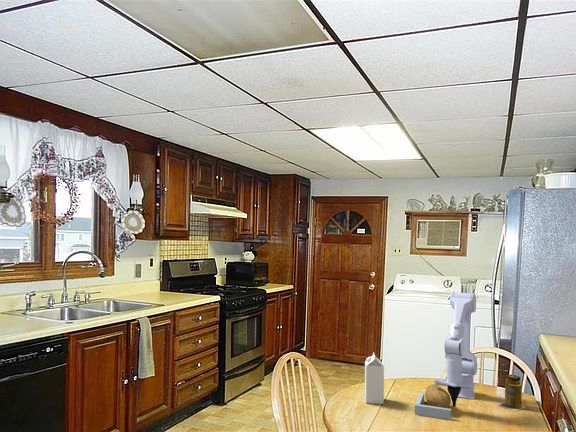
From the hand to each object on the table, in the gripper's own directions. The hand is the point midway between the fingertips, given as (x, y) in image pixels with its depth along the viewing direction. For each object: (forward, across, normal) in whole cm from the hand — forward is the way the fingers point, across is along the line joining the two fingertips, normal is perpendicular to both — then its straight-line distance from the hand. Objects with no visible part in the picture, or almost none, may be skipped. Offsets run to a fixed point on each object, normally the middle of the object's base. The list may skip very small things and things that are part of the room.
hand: (454, 405), depth 181 cm
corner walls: (+2, -7, -3) cm, 8 cm away
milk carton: (+2, -31, -2) cm, 31 cm away
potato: (+2, -6, 0) cm, 6 cm away
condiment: (+2, +21, +15) cm, 26 cm away
